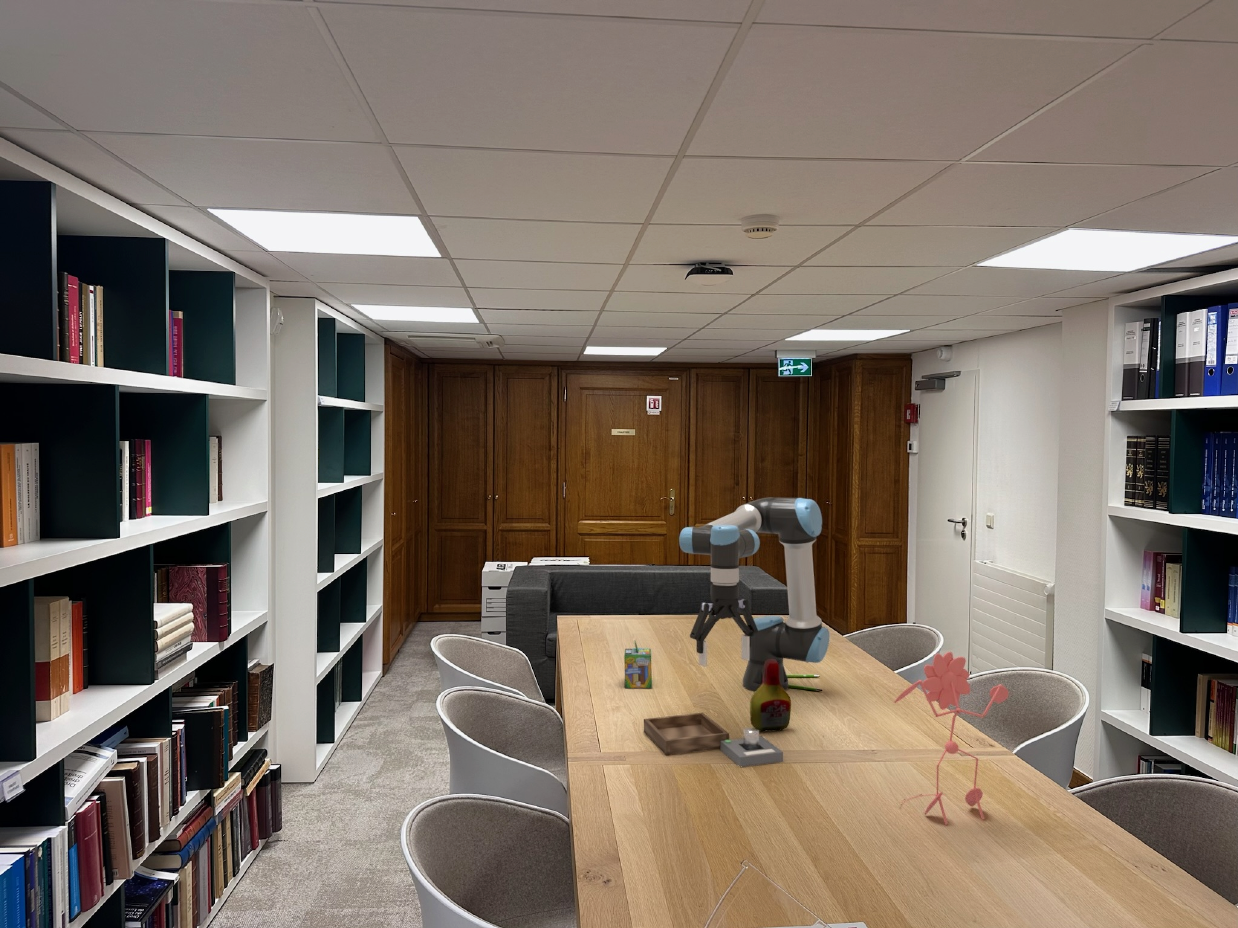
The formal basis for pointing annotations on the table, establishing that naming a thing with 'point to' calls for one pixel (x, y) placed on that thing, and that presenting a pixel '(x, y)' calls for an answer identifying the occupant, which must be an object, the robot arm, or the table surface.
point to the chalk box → (638, 668)
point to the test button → (751, 738)
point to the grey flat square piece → (751, 752)
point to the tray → (685, 733)
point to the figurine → (946, 687)
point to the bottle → (770, 701)
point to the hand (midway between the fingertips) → (724, 662)
